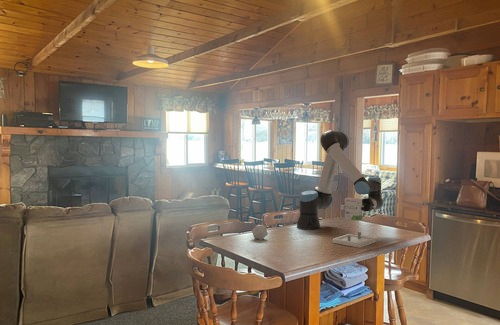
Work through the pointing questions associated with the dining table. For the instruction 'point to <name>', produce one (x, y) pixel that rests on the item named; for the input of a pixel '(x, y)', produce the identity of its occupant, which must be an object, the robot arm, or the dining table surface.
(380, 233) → the dining table surface
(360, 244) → the pin tray
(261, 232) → the die
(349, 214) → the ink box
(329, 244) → the dining table surface
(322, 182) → the robot arm
